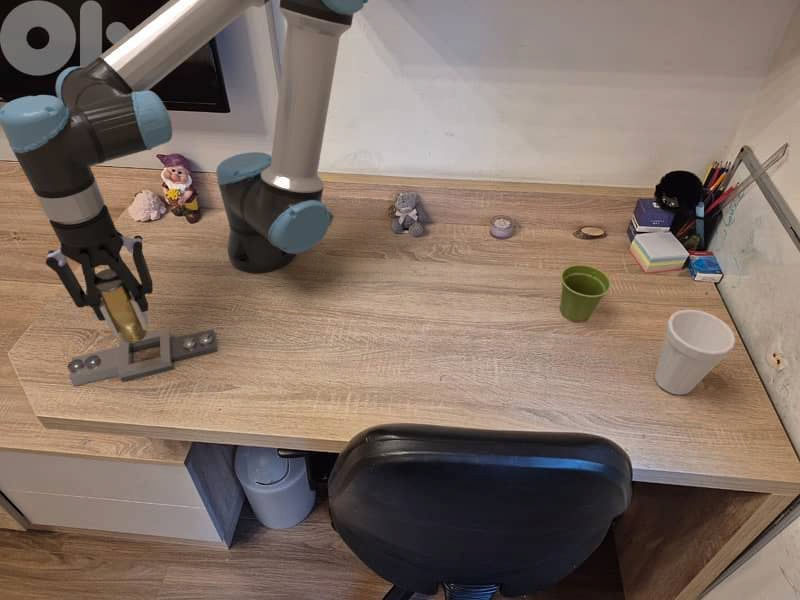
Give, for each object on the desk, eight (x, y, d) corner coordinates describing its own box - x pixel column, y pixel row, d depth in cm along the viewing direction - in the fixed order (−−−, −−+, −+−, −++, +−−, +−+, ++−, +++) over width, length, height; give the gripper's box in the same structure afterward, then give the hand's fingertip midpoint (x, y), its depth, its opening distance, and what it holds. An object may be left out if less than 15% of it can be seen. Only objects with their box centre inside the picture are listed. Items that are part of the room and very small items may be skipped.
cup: (713, 383, 92) (746, 331, 84) (687, 415, 87) (720, 363, 78) (659, 352, 98) (685, 300, 89) (632, 380, 93) (657, 329, 84)
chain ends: (214, 326, 102) (210, 316, 100) (218, 358, 96) (215, 348, 94) (76, 358, 96) (69, 348, 94) (71, 394, 90) (65, 384, 88)
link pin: (148, 323, 94) (124, 265, 85) (148, 340, 90) (123, 283, 82) (120, 329, 92) (93, 271, 84) (119, 347, 89) (90, 289, 81)
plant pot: (607, 310, 106) (619, 277, 100) (587, 336, 101) (599, 303, 95) (564, 290, 110) (574, 258, 105) (543, 314, 105) (552, 281, 99)
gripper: (141, 188, 80) (181, 302, 95) (14, 207, 75) (78, 324, 91) (141, 214, 74) (184, 330, 90) (4, 236, 70) (74, 354, 85)
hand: (131, 327), depth 90 cm, fingers closed on link pin, 4 cm apart
